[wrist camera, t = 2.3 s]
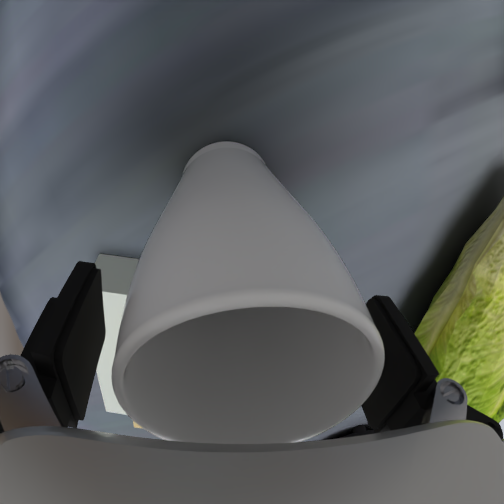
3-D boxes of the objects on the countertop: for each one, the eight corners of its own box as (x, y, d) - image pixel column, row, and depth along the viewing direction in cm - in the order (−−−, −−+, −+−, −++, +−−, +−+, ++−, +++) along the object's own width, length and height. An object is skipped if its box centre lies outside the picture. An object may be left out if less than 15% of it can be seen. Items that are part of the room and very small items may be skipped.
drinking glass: (175, 232, 21) (146, 456, 8) (166, 130, 18) (61, 299, 5) (277, 227, 22) (352, 438, 9) (281, 126, 18) (429, 276, 6)
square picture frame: (99, 253, 21) (73, 309, 16) (350, 283, 25) (379, 336, 20) (112, 378, 29) (103, 429, 24) (295, 392, 33) (306, 439, 28)
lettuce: (537, 187, 24) (625, 231, 11) (462, 371, 33) (503, 450, 20) (432, 146, 24) (536, 175, 11) (362, 368, 33) (386, 470, 21)
